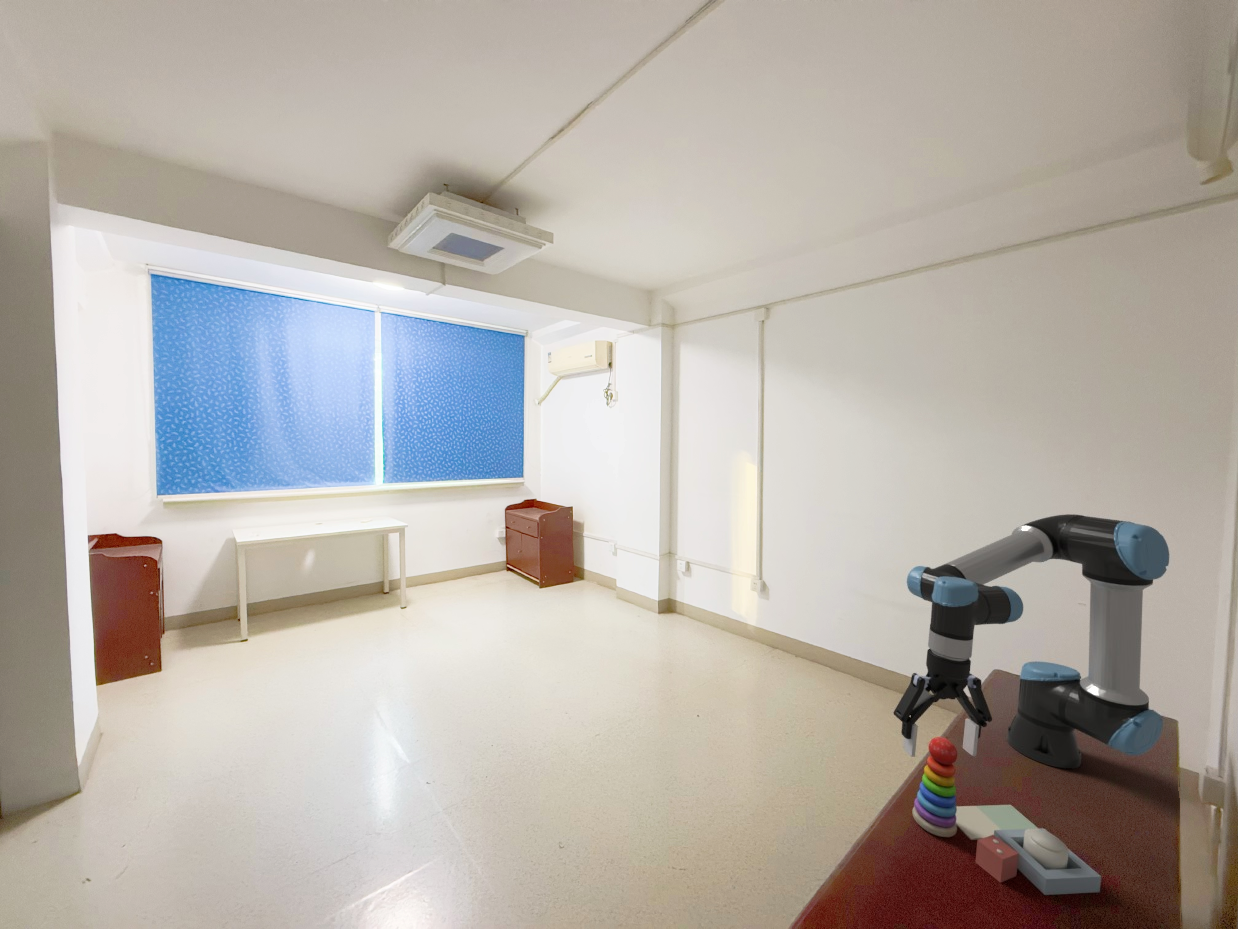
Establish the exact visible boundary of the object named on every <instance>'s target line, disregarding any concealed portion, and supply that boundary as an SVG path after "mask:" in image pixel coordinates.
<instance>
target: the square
mask: <svg viewBox="0 0 1238 929" xmlns="http://www.w3.org/2000/svg"><path fill="white" fill-rule="evenodd" d="M976 806H977V805H963V806H961V805H959V806H958V805H956V808H957V811H956V825H957V828H959V830H960V831H961V832H963V833H964V835H965V836H966V837H968V839H969V840H970V841H972V840H973V841H975V840H977V841H978V840H980V839H983V838H985V837H988V836H991V835H994V830H1001V829H1000V828H999V827H998V826H997V825H996V824H995V823H994V822H992V821H991V820H990V819H989V818H988V817H987V816H986V815H985V814H984V813H983V812H982V811H981V810H979V809H978V808H977V807H976Z"/></svg>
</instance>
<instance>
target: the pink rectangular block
mask: <svg viewBox="0 0 1238 929" xmlns="http://www.w3.org/2000/svg"><path fill="white" fill-rule="evenodd" d="M1018 855H1019V853H1018V852H1016V851H1015V850H1014V849H1012V848H1011V847H1009V846H1008V845H1007V844H1005V843H1004V842H1003V841H1001V840H1000V839H999V838H997V837H996V836H994V835H991V836H988V837H985V838H983V839H980V840H977V841H976V852H975V861H974V862H975V864H976V865H978V867H980V868H982V870H984V871H986V872H987V873H988V874H989V875H990V876H992V878H994V879H995V880H996V881H998V882H999V883H1003V882H1006V881H1008V880H1010V879H1013V878H1015V877H1017V872H1018V868H1017V865H1018Z"/></svg>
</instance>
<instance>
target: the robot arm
mask: <svg viewBox="0 0 1238 929" xmlns="http://www.w3.org/2000/svg"><path fill="white" fill-rule="evenodd" d="M1049 560H1062V561H1068V562H1072V563H1077V564H1080V565H1081V575H1082V577H1084V579H1085V580H1087V581H1088V582H1089V583H1090V588H1089V589H1090V590H1089V591H1090V597H1089V633H1088V636H1089V640H1088V641H1089V642H1088V644H1089V646H1088V676H1085V677H1083V678H1082V676H1081V673H1080V672H1079V671H1078V670H1077V669H1075V668H1072V667H1069V666H1067V665H1063V664H1059V663H1054V662H1050V661H1049V662H1046V661H1028V662H1026V663H1024V664H1023V665H1022V666H1021V672H1020V675H1019V679H1020V680H1019V688H1018V700H1017V710H1016V714H1015V716H1014V718H1013V719H1012V721H1011V723H1010V724H1009V726H1008V727H1007V730H1006V737H1005V738H1006V741H1007V743H1008V744H1009V745H1010V746H1011V747H1012V748H1013V749H1014V750H1015V751H1017V752H1019V753H1021V755H1024V756H1025V757H1027V758H1029V759H1032V760H1034V761H1036V762H1038V763H1040V764H1044V765H1047V766H1051V767H1055V768H1060V769H1066V768H1072V769H1077V768H1080V766H1081V763H1082V753H1081V750H1080V748H1079V744H1078V739H1077V736H1076V731H1078V732H1081V733H1083V734H1085V735H1087V736H1089V737H1090V738H1093V739H1095V740H1097V741H1099V742H1100V743H1103V744H1105V745H1106V746H1108V747H1109V748H1111V749H1115V750H1117V751H1119V752H1122V753H1124V754H1125V755H1127V756H1132V757H1133V756H1134V757H1137V756H1142V755H1143V754H1145V753H1147V752H1148V751H1150V750H1151V749H1152V748H1153V747H1154V745H1155V744H1156V743H1157V742H1158V740H1159V739H1160V736H1161V734H1162V731H1163V727H1164V720H1163V717H1162V715H1160V714H1159V713H1158V712H1157V711H1155V710H1154V709H1150V706H1149V703H1150V699H1149V696H1148V694H1147V693H1146V692H1145V691H1143V690H1142V689H1141V685H1140V684H1141V683H1140V682H1141V660H1142V659H1141V657H1142V632H1143V631H1142V629H1143V628H1142V627H1143V625H1142V624H1143V623H1142V622H1143V599H1144V598H1143V597H1144V596H1143V595H1144V593H1143V592H1144V590H1145V589H1146V588H1148V587H1151V586H1152V585H1153V584H1154V580H1158V579H1160V578H1162V577H1163V576H1164V575H1165V573H1167V572H1166V571H1167V567H1169V564H1170V550H1169V546H1168V544H1167V541H1166V539H1165V537H1164V536H1163V535H1162V533H1160V531H1159V530H1157V529H1156V528H1154V527H1153V526H1149V525H1145V524H1140V523H1135V522H1131V521H1128V520H1127V521H1126V520H1125V521H1124V520H1118V519H1109V518H1101V517H1094V516H1089V515H1087V516H1085V515H1082V514H1075V513H1074V514H1073V513H1072V514H1070V513H1069V514H1068V513H1067V514H1059V515H1058V514H1057V515H1052V516H1047V517H1043V518H1039V519H1036V520H1033V521H1029V522H1026V523H1024V524H1022V525H1020V526H1018V527H1016V528H1014V529H1013V531H1012V533H1011V534H1009V535H1007V536H1004V537H1003V538H1001V539H999V540H996V541H994V542H991V543H990V544H987V545H985V546H983V547H980V548H978V549H976V550H973V551H971V552H969V553H965V554H964V555H962V556H959V557H957V558H955V559H953V560H951V561H948V562H946V563H944V564H942V565H939V566H937V567H935V568H931V567H930V566H923V565H918V566H915V567H913V568H912V569H911V570H910V571H909V572H908V575H907V578H906V586H907V589H908V591H909V592H910V593H911V594H912V595H913V596H916V597H918V598H920V599H922V600H924V601H927V602H930V603H931V613H930V624H929V632H928V643H927V645H928V646H927V647H928V649H927V651H926V652H927V653H926V662H925V665H926V668H927V672H926V675H925V676H924V675H920V674H918V673H917V672H913V673H911V677H910V682H909V685H908V686H907V688H906V690H905V692H904V693H903V695H902V696H901V699H900V700H899V702H898V704H897V705H896V707H895V709H894V711H893V715H894V716H895V717H896V718H897V719H898V720H899V721H900V722H902V723H901V732H900V733H901V735H902V737H903V740H902V741H903V742H902V749H903V750H904V751H905V752H906V753H907V754H908V755H909V756H910V757H913V758H915V757H916V751H917V750H916V748H917V738H918V729H919V728H918V727H919V726H918V725H917V724H916V722H917V721H918V720H919V719H920V718H921V717H922V716H923V714H925V712H926V711H927V710H929V708H930V707H931V706H932V705H933V704H934V703H937V702H939V701H940V700H948V699H949V700H957V701H958V703H959V704H960V706H961V707H962V708H963V710H964V711H965V713H966V714H967V716H968V717H969V718H965V720H964V730H963V732H964V733H963V740H962V749H963V750H965V751H966V752H967V753H968V754H969V755H971V756H972V757H977V750H978V742H979V741H978V739H980V738H981V735H982V734H981V733H982V732H981V731H982V728H986V727H987V726H988V723H991V722H992V721H993V717H992V714H991V711H990V708H989V706H988V704H987V700H986V698H985V695H984V692H983V689H982V679H980V678H978V677H977V676H975V675H973V674H972V673H971V664H972V661H971V658H972V655H973V646H974V632H975V626H981V625H1004V624H1007V623H1013V622H1016V621H1018V620H1019V619H1020V618H1021V617H1022V615H1023V613H1024V603H1023V600H1022V597H1021V596H1020V595H1019V594H1018V593H1017V592H1016V591H1015V590H1013V589H1012V588H1009V587H1007V586H1001V585H992V586H989V585H986V584H988V583H990V582H991V581H994V580H996V579H998V578H1001V577H1002V576H1005V575H1007V574H1010V573H1012V572H1014V571H1016V570H1018V569H1020V568H1022V567H1025V566H1027V565H1029V564H1031V563H1044V562H1047V561H1049ZM966 687H967V689H968V691H969V694H970V697H971V698H970V697H969V696H968V695H967V694H966V692H965V691H964V690H965V688H966ZM930 692H931V693H930ZM970 699H971V700H972V702H973V703H972V702H971V701H970ZM987 722H988V723H987ZM1075 730H1076V731H1075Z"/></svg>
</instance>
